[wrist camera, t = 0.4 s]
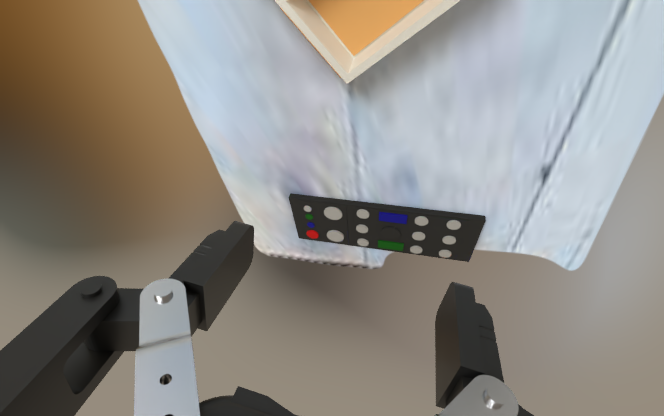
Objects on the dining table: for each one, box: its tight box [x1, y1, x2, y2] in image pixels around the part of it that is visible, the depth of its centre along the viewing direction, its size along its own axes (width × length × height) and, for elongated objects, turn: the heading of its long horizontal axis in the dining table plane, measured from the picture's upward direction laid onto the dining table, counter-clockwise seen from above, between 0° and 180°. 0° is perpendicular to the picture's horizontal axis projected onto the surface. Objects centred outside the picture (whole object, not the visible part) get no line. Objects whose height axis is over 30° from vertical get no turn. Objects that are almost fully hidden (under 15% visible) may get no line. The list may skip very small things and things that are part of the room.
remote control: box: [289, 194, 485, 262], centre depth 58 cm, size 11×30×2 cm, turn 94°
